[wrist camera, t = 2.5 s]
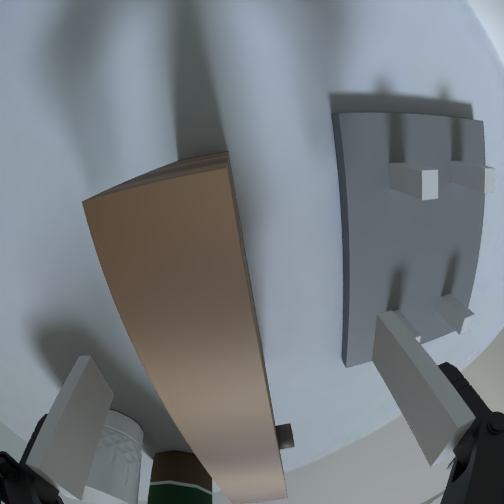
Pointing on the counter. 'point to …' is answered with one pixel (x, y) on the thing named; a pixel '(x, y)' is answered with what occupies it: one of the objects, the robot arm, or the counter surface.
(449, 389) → the robot arm
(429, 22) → the counter surface
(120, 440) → the white cup
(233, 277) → the brown wooden board
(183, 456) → the beer bottle
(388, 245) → the board
